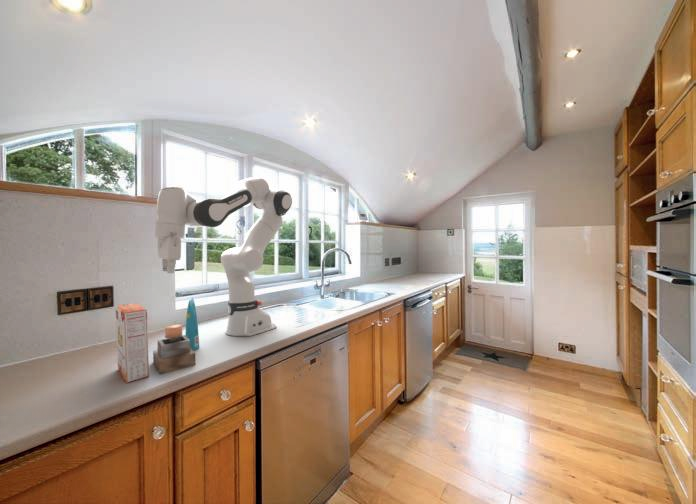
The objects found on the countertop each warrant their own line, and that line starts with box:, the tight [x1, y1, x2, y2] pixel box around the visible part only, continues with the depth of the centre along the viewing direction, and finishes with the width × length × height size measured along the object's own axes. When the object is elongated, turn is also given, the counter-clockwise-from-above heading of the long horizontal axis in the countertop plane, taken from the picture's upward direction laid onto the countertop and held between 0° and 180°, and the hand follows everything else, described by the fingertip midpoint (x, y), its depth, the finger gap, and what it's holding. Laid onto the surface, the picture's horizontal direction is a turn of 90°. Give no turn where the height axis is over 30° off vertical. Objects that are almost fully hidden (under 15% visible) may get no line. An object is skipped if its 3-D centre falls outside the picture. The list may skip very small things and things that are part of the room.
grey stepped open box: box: [152, 334, 196, 375], centre depth 93 cm, size 10×12×8 cm
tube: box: [184, 297, 200, 351], centre depth 106 cm, size 7×5×19 cm, turn 25°
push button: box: [164, 324, 183, 343], centre depth 93 cm, size 5×5×5 cm
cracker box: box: [115, 303, 150, 384], centre depth 86 cm, size 14×6×21 cm, turn 47°
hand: (167, 272), depth 96 cm, fingers open, 8 cm apart
